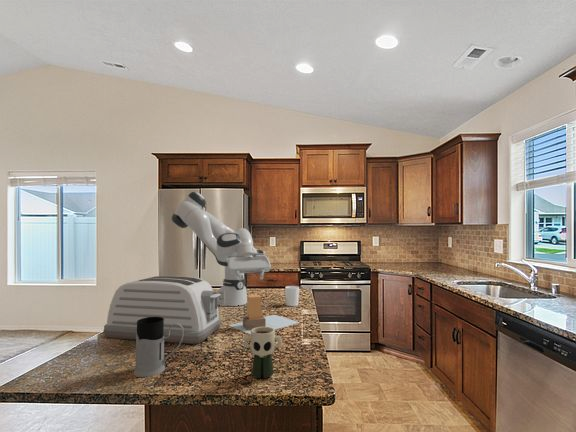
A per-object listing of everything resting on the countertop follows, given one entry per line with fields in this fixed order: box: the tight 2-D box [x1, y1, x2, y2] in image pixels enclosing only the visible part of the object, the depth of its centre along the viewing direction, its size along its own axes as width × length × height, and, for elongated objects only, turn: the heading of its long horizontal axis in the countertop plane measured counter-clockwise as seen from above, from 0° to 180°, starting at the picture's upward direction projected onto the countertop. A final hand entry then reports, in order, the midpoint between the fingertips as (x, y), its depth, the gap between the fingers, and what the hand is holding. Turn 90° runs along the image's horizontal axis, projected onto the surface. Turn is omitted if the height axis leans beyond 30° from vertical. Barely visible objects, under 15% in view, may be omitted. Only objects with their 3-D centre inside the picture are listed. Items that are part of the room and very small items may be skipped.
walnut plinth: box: [242, 314, 266, 330], centre depth 137 cm, size 8×8×4 cm
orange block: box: [246, 294, 262, 319], centre depth 138 cm, size 5×5×9 cm
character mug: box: [243, 327, 282, 379], centre depth 94 cm, size 11×7×13 cm, turn 91°
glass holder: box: [133, 317, 184, 378], centre depth 98 cm, size 9×14×15 cm, turn 94°
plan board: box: [228, 314, 301, 336], centre depth 141 cm, size 18×26×1 cm
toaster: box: [103, 275, 222, 345], centre depth 133 cm, size 23×45×22 cm, turn 79°
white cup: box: [284, 285, 300, 307], centre depth 181 cm, size 8×8×10 cm
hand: (251, 279), depth 146 cm, fingers open, 8 cm apart
